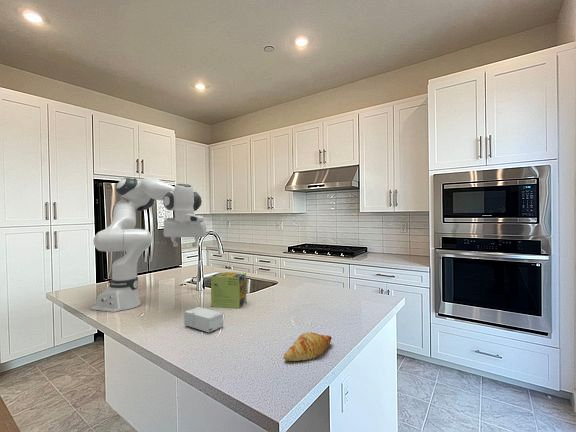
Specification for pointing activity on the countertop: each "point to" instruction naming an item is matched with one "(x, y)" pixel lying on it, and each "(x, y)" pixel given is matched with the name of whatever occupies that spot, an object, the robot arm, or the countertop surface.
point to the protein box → (228, 289)
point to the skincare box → (203, 319)
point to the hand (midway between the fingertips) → (185, 246)
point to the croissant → (307, 347)
